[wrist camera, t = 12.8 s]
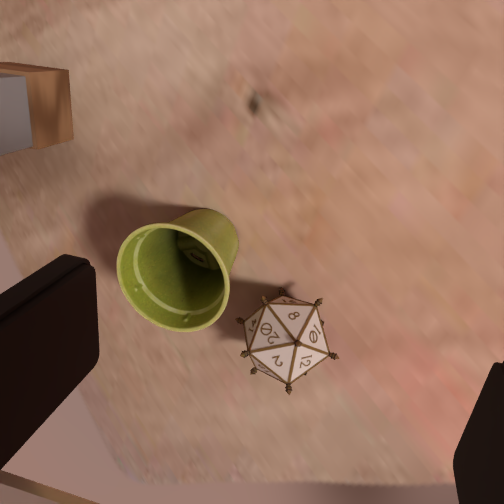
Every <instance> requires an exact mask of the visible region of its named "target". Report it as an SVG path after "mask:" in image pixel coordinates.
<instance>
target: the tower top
mask: <svg viewBox="0 0 504 504" xmlns="http://www.w3.org/2000/svg"><path fill="white" fill-rule="evenodd" d="M29 147H33V142H32V133H31V124H30V115H29V105H28V96H27V87H26V78H25V76H21V75H14V74H7V73H0V155H4V154H8V153H11V152H15V151H18V150H22V149H26V148H29Z"/></svg>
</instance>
